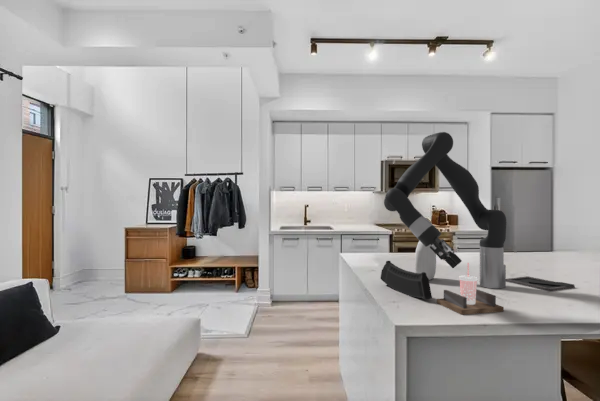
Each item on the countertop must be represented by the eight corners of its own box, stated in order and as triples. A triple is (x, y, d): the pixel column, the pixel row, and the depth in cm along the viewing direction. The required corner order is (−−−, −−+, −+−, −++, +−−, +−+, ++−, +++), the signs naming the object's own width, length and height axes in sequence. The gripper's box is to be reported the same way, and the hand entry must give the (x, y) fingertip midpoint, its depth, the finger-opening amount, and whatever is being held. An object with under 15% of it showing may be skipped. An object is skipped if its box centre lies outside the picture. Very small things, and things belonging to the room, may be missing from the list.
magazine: (436, 278, 133) (391, 245, 160) (429, 279, 132) (385, 246, 159) (427, 319, 138) (385, 280, 165) (420, 320, 137) (379, 281, 164)
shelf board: (475, 300, 137) (475, 287, 137) (503, 311, 124) (503, 296, 124) (436, 302, 134) (436, 289, 134) (461, 314, 120) (461, 299, 120)
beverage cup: (470, 299, 132) (470, 261, 132) (481, 304, 126) (481, 264, 126) (455, 300, 131) (455, 261, 131) (465, 305, 125) (465, 264, 125)
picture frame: (574, 289, 157) (527, 279, 176) (574, 284, 157) (527, 275, 176) (549, 292, 151) (503, 282, 170) (549, 288, 151) (503, 278, 170)
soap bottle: (425, 283, 165) (425, 223, 165) (410, 280, 172) (410, 222, 172) (443, 279, 174) (443, 222, 174) (428, 276, 180) (428, 221, 180)
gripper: (427, 225, 129) (462, 260, 123) (436, 223, 141) (468, 255, 135) (412, 239, 132) (445, 274, 126) (422, 236, 144) (453, 268, 138)
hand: (457, 264), depth 131 cm, fingers open, 8 cm apart
